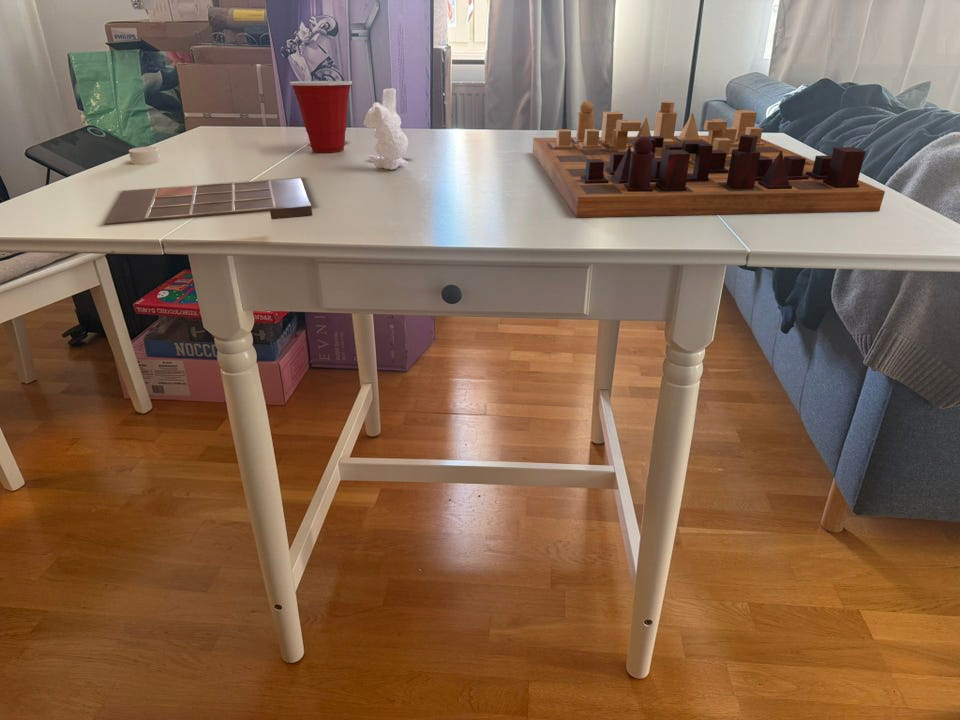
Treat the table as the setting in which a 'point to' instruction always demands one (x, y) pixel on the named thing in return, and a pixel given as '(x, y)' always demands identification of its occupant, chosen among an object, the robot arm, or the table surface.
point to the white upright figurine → (387, 132)
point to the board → (212, 201)
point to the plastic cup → (324, 112)
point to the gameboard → (695, 170)
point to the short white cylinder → (144, 155)
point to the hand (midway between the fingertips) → (144, 9)
